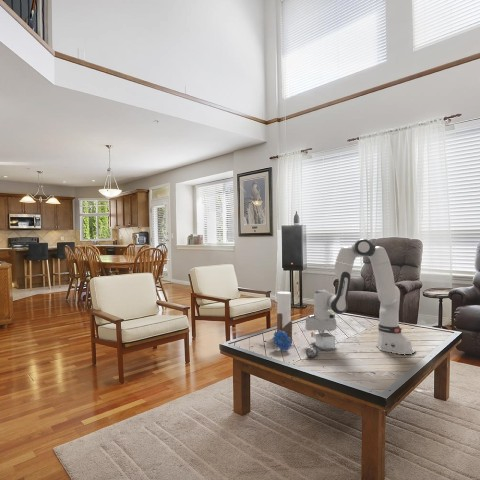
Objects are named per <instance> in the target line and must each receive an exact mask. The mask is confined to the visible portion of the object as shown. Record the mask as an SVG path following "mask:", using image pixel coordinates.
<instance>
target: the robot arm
mask: <svg viewBox="0 0 480 480" xmlns="http://www.w3.org/2000/svg"><path fill="white" fill-rule="evenodd" d="M359 257H362V258H363V257H367V258H368V259H369V260H370V263H371V264H370V265H371V267H372V271H373V276H374V280H375V285H376V293H377V298H378V301H379V302H380V306H379V317H378V318H379V319H378V321H379V323H378V329H377V330H378V337H377V341H376V347H377V348H378V350H379V351H383V352H387V353H391V352H392V353H393V354H396V353H398V354H397V355H400V354H404V355H403V356H406V355H405V354H411V353H414V352H415V351H416V350H417V349H415V348H413V347H412V342H411V340H410V339H409V338H408V337H407V336H406V335H405V334H403V332H402V331H403V327H400V325H399V316H400V315H399V314H400V313H399V311H400V303H401V302H400V301H401V300H400V299H401V291H400V289H399V287H398V286H397V285H396V283H395V277H394V272H393V267H392V264H391V260H390V258H389V256H388V253H387V251H386V249H385V247H383V246H375V245H374V244H373V243H372V242H371V241H370V240H368V239H366V238H360V239H358V240H356V241H355V242H354V243H353V245H351V246H347V245H346V246H342V247H340V249H339V251H338V254H337V256H336V258H335V259H336V260H335V262H334V263H335V264H334V273H335V275H336V277H337V280H338V286H337V292H336V294H335V293H332V292H329V291H327V289H318V290H316V291H314V296H313V305H314V308H313V315H307V316H306V317H305V327H304V328H305V330H306V331H309V332H312V331H317V332H318V333H325V330H326V331H327V330H335V329H337V319H336V314H338V315H341V314H344V313H345V312H346V311H347V310H348V307H349V303H348V294H349V290H350V289H349V288H350V285H351V275H352V270H353V267H354V263H355V261H356V259H357V258H359ZM329 310H332V311H334V312H335V315H334V314H332V313H329V312H328V311H329ZM413 350H414V351H413ZM416 352H417V351H416ZM416 352H415V353H416ZM392 353H391V354H392ZM415 353H414V354H415ZM411 355H412V354H411Z"/></svg>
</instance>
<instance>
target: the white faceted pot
mask: <svg viewBox="0 0 480 480" xmlns="http://www.w3.org/2000/svg"><path fill="white" fill-rule="evenodd" d="M328 333H329V332H324V333H322V336H323V337H326V336H329V334H330V333H329V334H328ZM316 348H317V349H318V351H325V352H331V351H334V349H335V348H328V349H322V348H320V347H318V346H317V345H316Z"/></svg>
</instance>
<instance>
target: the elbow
mask: <svg viewBox="0 0 480 480" xmlns="http://www.w3.org/2000/svg"><path fill="white" fill-rule="evenodd" d="M327 333H328V334H329V336H326V337H323V336H322V333H319V332H318V330H312V331H310V336H311V338H314V339H315V346H316V347H317V346H318V347H320V348H322V349H328V348H334V349H335V348H336V336H335V335H334V334H331V333H329V332H327Z"/></svg>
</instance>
